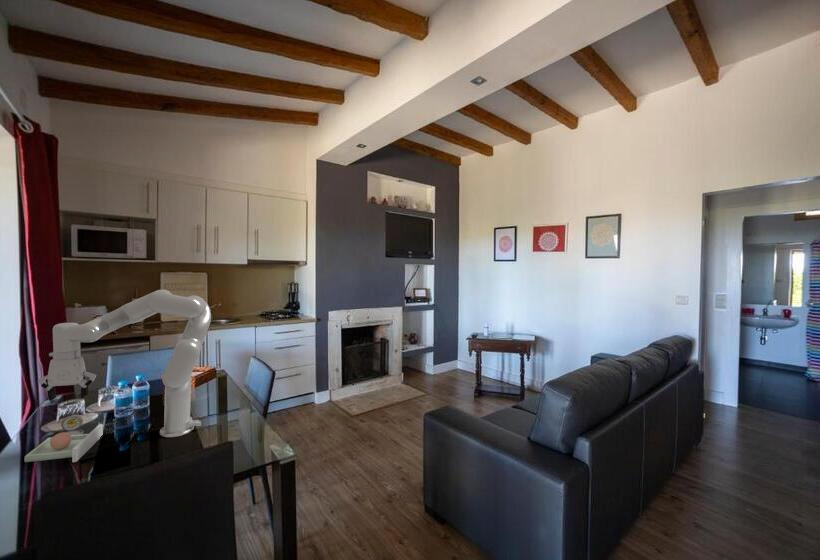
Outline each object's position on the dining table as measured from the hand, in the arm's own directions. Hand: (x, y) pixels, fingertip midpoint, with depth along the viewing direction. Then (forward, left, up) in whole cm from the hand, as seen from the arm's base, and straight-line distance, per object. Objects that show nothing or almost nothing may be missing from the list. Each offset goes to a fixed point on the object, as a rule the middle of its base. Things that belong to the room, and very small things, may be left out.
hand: (68, 398), depth 138 cm
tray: (+1, +2, -20) cm, 20 cm away
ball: (+1, +2, -16) cm, 16 cm away
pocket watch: (+3, -11, -20) cm, 23 cm away
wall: (-8, +3, -20) cm, 21 cm away
